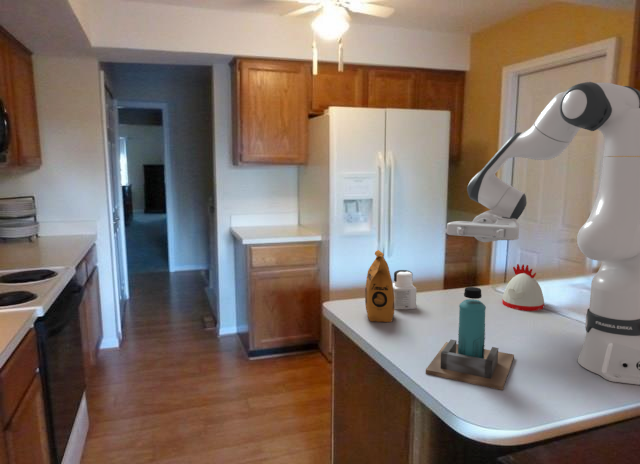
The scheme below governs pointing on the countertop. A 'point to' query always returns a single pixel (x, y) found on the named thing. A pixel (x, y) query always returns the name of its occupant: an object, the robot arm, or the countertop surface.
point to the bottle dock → (472, 366)
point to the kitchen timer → (523, 291)
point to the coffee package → (379, 291)
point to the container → (404, 290)
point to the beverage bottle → (472, 324)
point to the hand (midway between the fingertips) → (477, 233)
